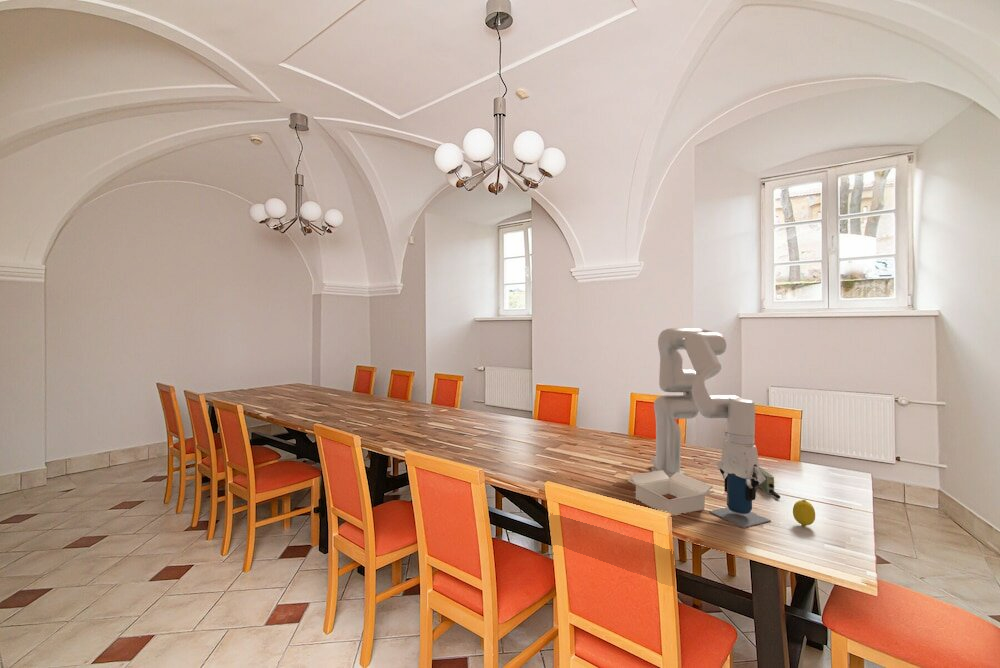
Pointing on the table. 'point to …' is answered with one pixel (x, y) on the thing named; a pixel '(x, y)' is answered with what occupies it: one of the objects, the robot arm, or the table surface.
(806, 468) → the table surface
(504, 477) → the table surface
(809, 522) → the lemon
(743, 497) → the soda can
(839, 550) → the table surface
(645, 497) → the carton
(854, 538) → the table surface
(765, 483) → the handheld radio
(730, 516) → the mat
